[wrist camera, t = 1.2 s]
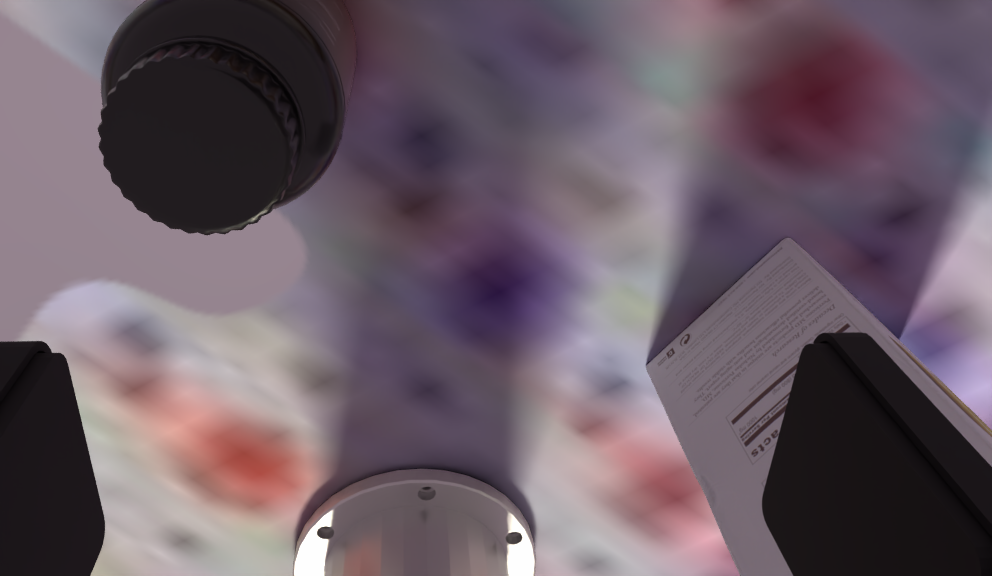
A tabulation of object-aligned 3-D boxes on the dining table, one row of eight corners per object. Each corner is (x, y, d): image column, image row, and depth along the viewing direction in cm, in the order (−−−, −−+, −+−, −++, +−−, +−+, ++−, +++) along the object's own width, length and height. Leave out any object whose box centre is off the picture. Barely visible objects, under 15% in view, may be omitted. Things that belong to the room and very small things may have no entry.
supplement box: (904, 341, 41) (1190, 624, 26) (762, 459, 43) (948, 777, 29) (784, 228, 37) (1037, 483, 22) (637, 365, 40) (777, 674, 25)
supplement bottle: (137, -21, 30) (-9, 53, 19) (318, -80, 29) (271, -37, 19) (220, 154, 33) (135, 300, 22) (383, 103, 33) (375, 226, 22)
